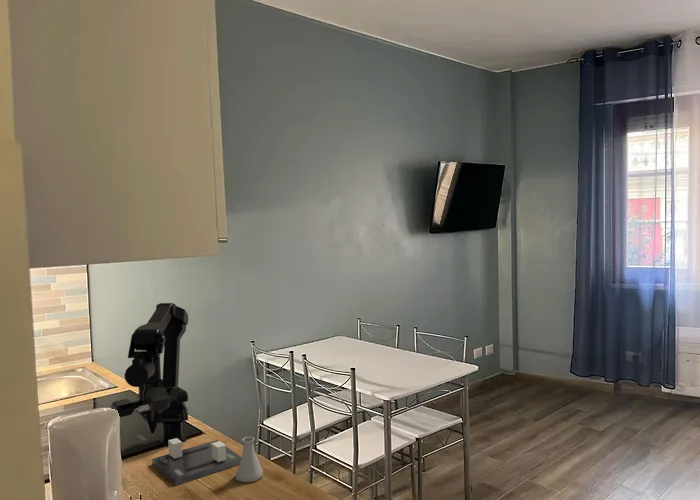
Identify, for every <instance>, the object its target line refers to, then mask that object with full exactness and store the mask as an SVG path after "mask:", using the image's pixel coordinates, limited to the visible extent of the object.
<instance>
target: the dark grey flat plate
mask: <svg viewBox="0 0 700 500" xmlns="http://www.w3.org/2000/svg"><path fill="white" fill-rule="evenodd" d="M215 442H218V440H216V439H215V440H213V441H209V442H205V443H201V444H198V445H196V446H192V447H188V448H185V449H182V456H181V457H178V458H175V459H174V458H173V457H171V456H170V455H169V453H168V454H164V455H160V456H157V457H154V458H151V465H152V466H154V467H155V468H156V469H157V470H158V471H159V472H160V473H161V474H162V475H163V476H164V477H166V478H167V479H168V481H170V482H171V483H172V484H173V485H174V486H179V485H181V484H184V483H187V482H190V481H193V480H196V479H201V478H202V477H206V476H209V475H211V474H214V473H217V472H220V471H223V470H227V469H230V468H233V467H236V466H239V464H240V461H241V458H242V455H239V454H237V453H236V452H235V451H234V450H232V449H230V448H229V447H227V446H226V460H224V461H220V462H217V461H216V460H214V459H213V458H212V443H215Z"/></svg>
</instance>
